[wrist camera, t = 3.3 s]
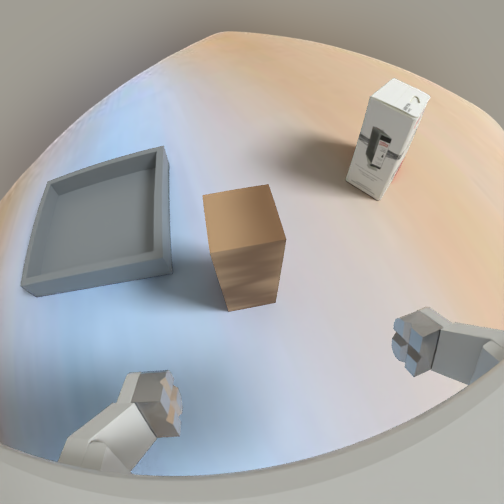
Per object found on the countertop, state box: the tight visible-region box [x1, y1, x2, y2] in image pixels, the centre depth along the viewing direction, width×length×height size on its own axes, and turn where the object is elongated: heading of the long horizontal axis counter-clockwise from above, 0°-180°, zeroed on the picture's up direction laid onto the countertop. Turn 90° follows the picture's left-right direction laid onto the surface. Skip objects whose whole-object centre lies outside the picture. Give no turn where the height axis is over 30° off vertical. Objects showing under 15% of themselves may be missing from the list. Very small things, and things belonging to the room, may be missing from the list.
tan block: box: [203, 184, 286, 312], centre depth 20 cm, size 4×4×10 cm
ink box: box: [346, 78, 430, 200], centre depth 26 cm, size 9×5×12 cm, turn 140°
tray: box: [21, 146, 173, 297], centre depth 26 cm, size 17×15×3 cm
